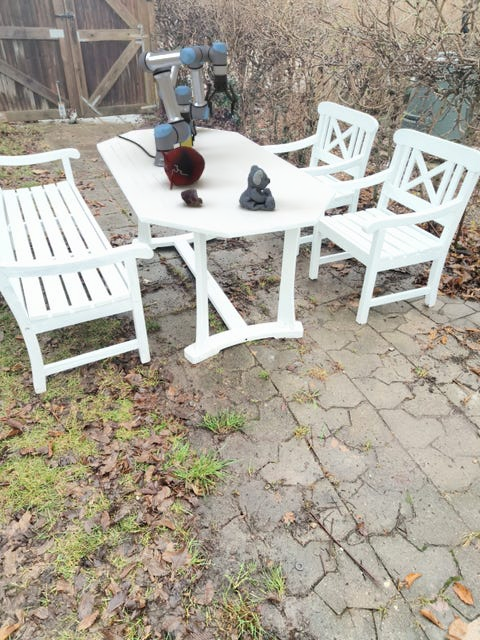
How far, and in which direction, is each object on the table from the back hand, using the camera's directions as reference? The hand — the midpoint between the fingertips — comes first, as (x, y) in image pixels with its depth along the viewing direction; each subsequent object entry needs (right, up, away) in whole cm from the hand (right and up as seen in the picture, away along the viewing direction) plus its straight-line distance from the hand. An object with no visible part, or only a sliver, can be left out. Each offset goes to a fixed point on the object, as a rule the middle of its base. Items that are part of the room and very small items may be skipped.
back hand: (186, 146), depth 319 cm
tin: (0, -3, +2) cm, 3 cm away
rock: (+13, -64, -88) cm, 110 cm away
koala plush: (+47, -66, -90) cm, 121 cm away
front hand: (+27, -1, -52) cm, 58 cm away
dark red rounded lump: (+6, -44, -58) cm, 74 cm away
